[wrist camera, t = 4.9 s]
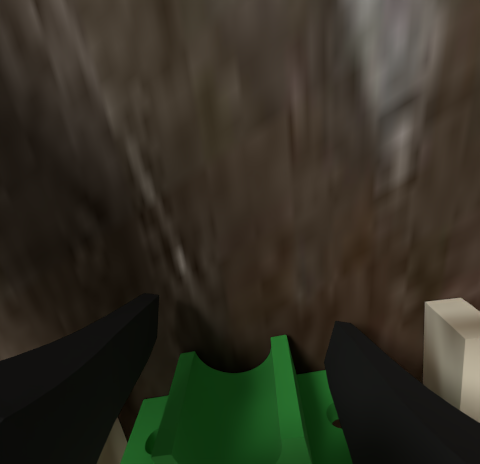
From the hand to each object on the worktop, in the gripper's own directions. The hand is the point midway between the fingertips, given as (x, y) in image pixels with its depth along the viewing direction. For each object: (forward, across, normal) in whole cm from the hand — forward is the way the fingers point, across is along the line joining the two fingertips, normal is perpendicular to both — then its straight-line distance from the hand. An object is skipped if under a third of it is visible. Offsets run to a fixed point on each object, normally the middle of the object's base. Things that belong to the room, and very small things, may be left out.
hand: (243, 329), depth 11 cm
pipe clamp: (+2, 0, +4) cm, 4 cm away
